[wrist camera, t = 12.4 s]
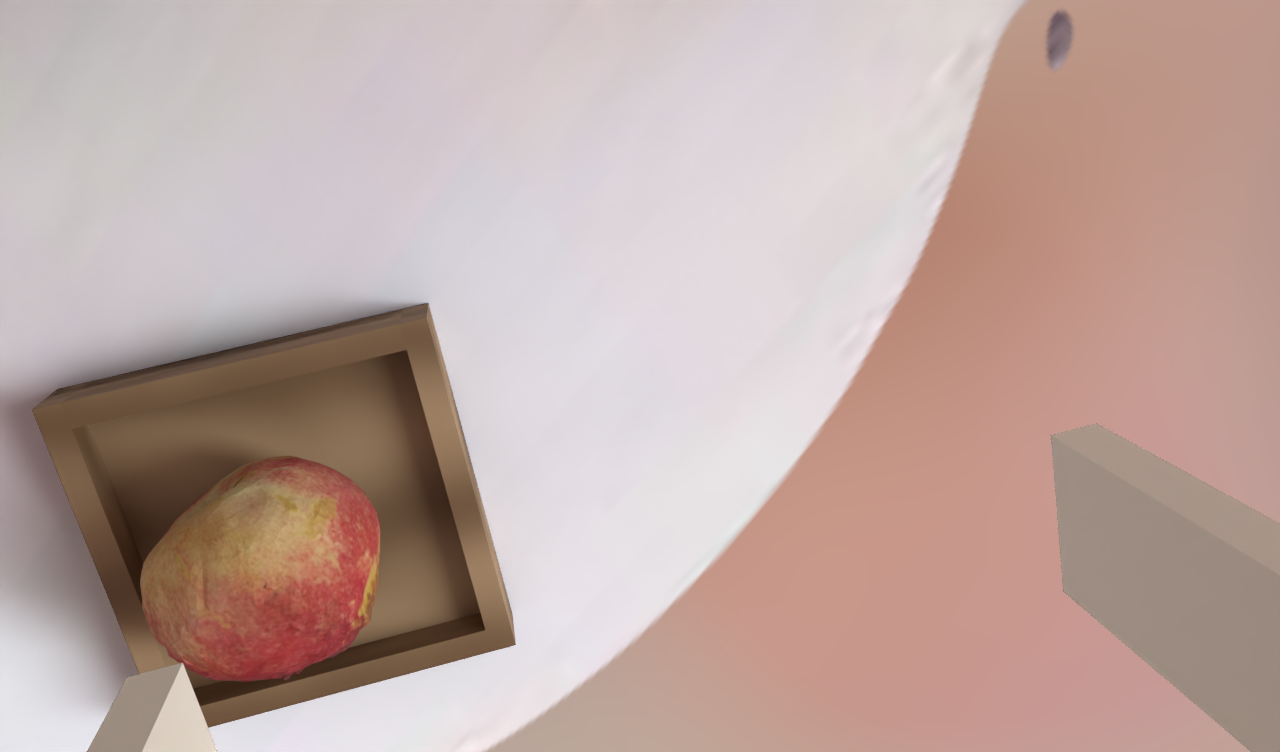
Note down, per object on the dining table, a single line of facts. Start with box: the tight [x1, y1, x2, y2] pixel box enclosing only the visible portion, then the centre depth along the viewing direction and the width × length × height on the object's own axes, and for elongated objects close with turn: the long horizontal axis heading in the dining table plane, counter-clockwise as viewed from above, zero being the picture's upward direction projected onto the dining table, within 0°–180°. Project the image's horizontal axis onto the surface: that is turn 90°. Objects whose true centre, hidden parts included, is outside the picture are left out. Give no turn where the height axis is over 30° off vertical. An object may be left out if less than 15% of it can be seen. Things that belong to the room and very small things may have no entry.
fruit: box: [140, 456, 380, 682], centre depth 37 cm, size 8×8×8 cm
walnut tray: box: [32, 303, 516, 728], centre depth 40 cm, size 14×14×2 cm
